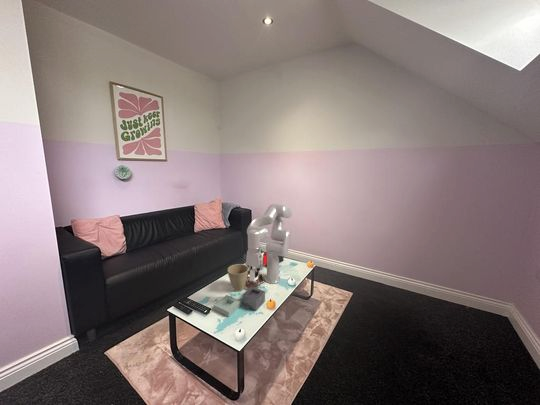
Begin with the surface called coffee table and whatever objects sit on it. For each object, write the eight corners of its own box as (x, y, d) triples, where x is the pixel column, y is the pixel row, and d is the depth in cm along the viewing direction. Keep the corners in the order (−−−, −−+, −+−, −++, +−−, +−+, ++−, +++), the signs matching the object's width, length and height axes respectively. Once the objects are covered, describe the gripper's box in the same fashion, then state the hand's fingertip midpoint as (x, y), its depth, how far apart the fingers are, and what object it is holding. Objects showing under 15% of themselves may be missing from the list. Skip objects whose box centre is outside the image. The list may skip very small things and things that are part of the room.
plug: (253, 276, 137) (253, 267, 136) (258, 278, 135) (258, 268, 134) (249, 280, 133) (249, 270, 132) (254, 281, 132) (254, 271, 130)
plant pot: (242, 280, 163) (242, 262, 160) (252, 290, 151) (252, 270, 149) (224, 287, 155) (224, 267, 152) (233, 297, 143) (233, 276, 140)
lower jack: (226, 299, 140) (226, 294, 140) (240, 305, 135) (240, 300, 134) (214, 310, 130) (213, 305, 130) (228, 317, 124) (228, 311, 124)
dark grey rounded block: (251, 296, 144) (251, 286, 143) (264, 301, 139) (265, 291, 138) (242, 305, 135) (241, 295, 134) (256, 311, 130) (256, 300, 128)
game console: (280, 257, 206) (281, 243, 203) (285, 259, 201) (286, 245, 199) (261, 267, 185) (261, 252, 182) (266, 270, 181) (267, 254, 178)
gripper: (268, 249, 130) (267, 276, 133) (246, 244, 137) (246, 269, 141) (262, 254, 123) (261, 282, 127) (239, 248, 131) (240, 274, 134)
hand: (254, 275), depth 134 cm, fingers closed on plug, 3 cm apart
